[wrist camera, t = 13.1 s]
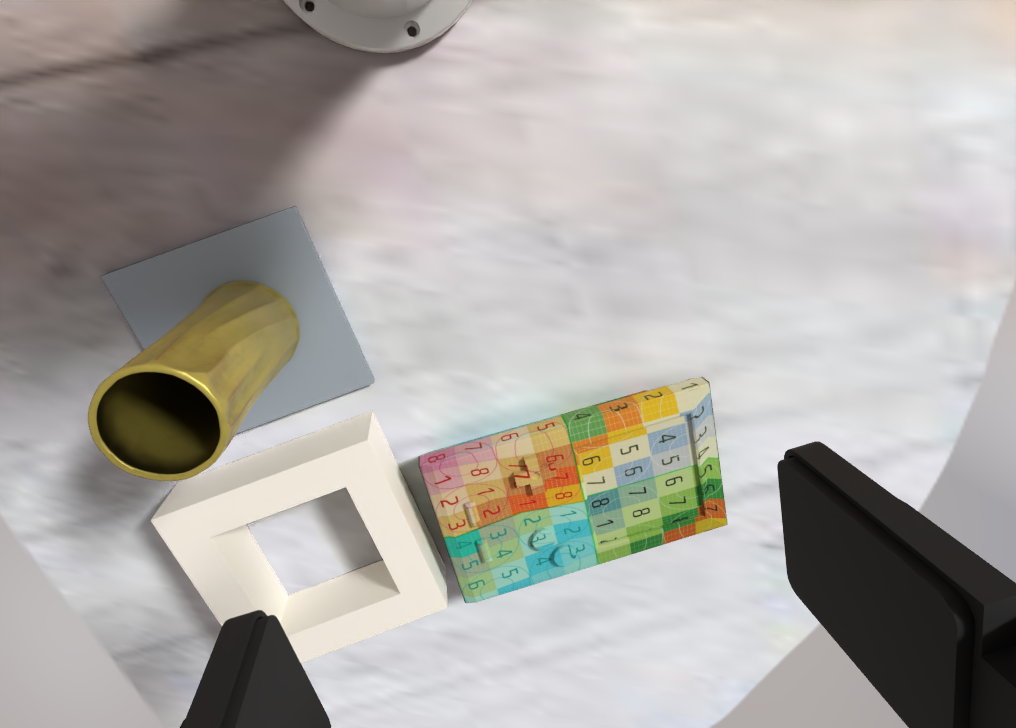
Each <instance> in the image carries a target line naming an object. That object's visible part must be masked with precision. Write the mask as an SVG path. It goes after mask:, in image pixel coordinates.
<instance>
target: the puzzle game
mask: <svg viewBox="0 0 1016 728" xmlns="http://www.w3.org/2000/svg"><path fill="white" fill-rule="evenodd" d="M419 468H420V471H421V474H422V477H423V480H424V483H425V486H426V489H427V492H428V495H429V498H430V501H431V504H432V506H433V509H434V512H435V515H436V518H437V521H438V524H439V527H440V530H441V533H442V536H443V539H444V542H445V545H446V548H447V551H448V554H449V557H450V560H451V563H452V566H453V568H454V571H455V574H456V577H457V580H458V583H459V586H460V589H461V592H462V595H463V598H464V601H465V603H473V602H479V601H482V600H485V599H488V598H492V597H495V596H498V595H501V594H505V593H508V592H511V591H514V590H518V589H521V588H524V587H527V586H530V585H534V584H537V583H540V582H543V581H547V580H550V579H553V578H556V577H560V576H563V575H566V574H569V573H573V572H576V571H579V570H582V569H585V568H589V567H592V566H595V565H598V564H602V563H605V562H608V561H611V560H615V559H618V558H621V557H624V556H628V555H631V554H634V553H637V552H640V551H644V550H647V549H650V548H653V547H657V546H660V545H663V544H666V543H670V542H673V541H676V540H679V539H683V538H686V537H689V536H692V535H695V534H699V533H702V532H705V531H708V530H712V529H715V528H718V527H721V526H725V525H727V517H726V509H725V501H724V494H723V486H722V478H721V470H720V462H719V455H718V447H717V439H716V431H715V423H714V416H713V408H712V400H711V392H710V384H709V382H708V381H707V380H706V379H704V378H703V377H699V378H692V379H688V380H685V381H682V382H678V383H675V384H671V385H668V386H664V387H661V388H657V389H654V390H650V391H642V392H639V393H635V394H632V395H628V396H625V397H621V398H618V399H614V400H611V401H607V402H604V403H600V404H597V405H593V406H590V407H586V408H583V409H579V410H576V411H572V412H569V413H565V414H562V415H558V416H555V417H551V418H548V419H544V420H541V421H537V422H534V423H530V424H527V425H523V426H519V427H516V428H512V429H509V430H505V431H502V432H498V433H495V434H491V435H488V436H484V437H481V438H477V439H474V440H470V441H467V442H463V443H460V444H456V445H453V446H449V447H446V448H442V449H439V450H435V451H432V452H429V453H426V454H424V455H421V456H419Z"/></svg>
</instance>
